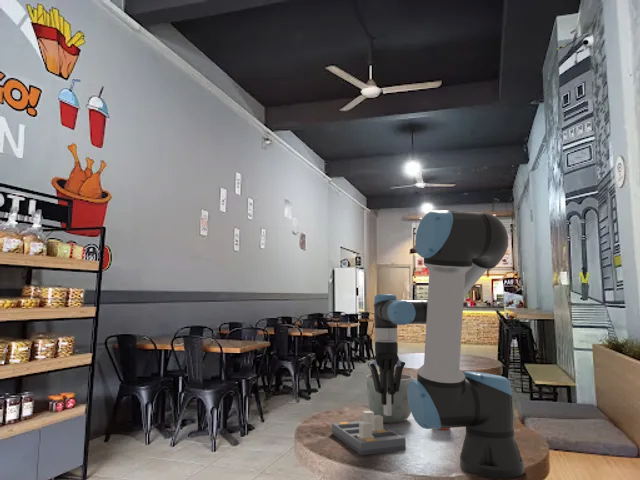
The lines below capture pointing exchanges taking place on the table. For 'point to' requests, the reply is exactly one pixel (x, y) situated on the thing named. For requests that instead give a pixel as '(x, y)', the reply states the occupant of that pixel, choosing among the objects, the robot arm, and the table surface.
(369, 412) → the tab
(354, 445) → the switch bank
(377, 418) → the tab
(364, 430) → the tab
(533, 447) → the table surface
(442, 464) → the table surface
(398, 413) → the concrete flower pot
